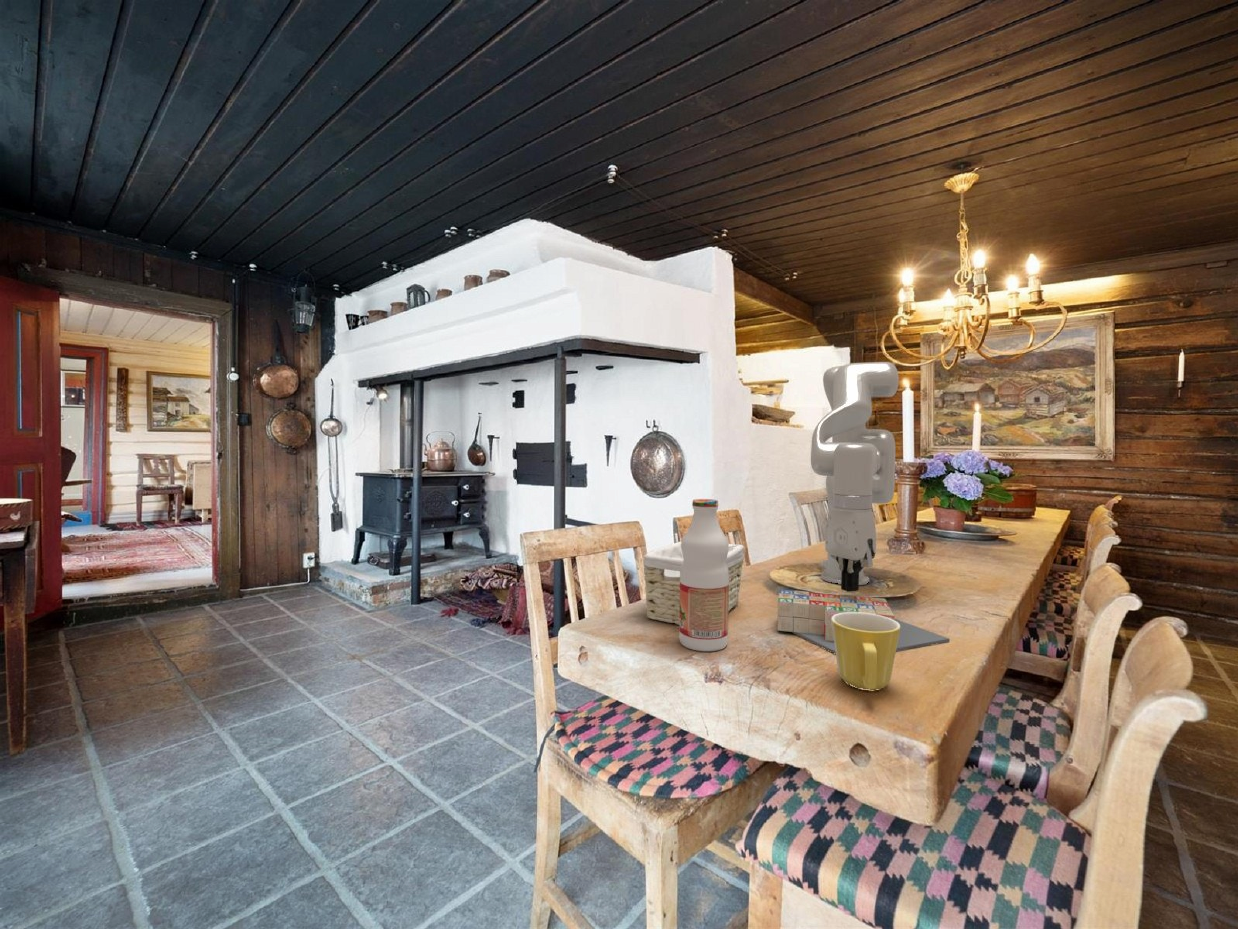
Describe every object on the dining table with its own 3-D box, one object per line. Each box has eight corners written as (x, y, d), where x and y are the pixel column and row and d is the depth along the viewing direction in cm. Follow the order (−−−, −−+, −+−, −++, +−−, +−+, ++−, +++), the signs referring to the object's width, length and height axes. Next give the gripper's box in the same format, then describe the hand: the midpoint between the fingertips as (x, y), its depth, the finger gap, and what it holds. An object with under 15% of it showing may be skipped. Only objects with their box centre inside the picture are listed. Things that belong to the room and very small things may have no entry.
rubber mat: (792, 633, 114) (792, 630, 114) (887, 618, 124) (887, 615, 124) (846, 660, 100) (847, 657, 100) (949, 641, 110) (949, 638, 110)
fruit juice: (708, 656, 101) (710, 504, 100) (669, 642, 108) (670, 499, 107) (737, 643, 108) (740, 500, 107) (699, 631, 115) (700, 496, 113)
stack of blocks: (778, 616, 123) (776, 635, 111) (779, 588, 122) (776, 604, 111) (885, 627, 116) (894, 648, 104) (886, 598, 116) (895, 616, 104)
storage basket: (684, 594, 142) (685, 537, 141) (746, 604, 134) (747, 543, 133) (639, 620, 122) (639, 554, 121) (709, 634, 113) (710, 563, 113)
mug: (834, 666, 98) (836, 607, 97) (899, 679, 93) (901, 617, 92) (821, 698, 86) (822, 631, 85) (895, 714, 81) (897, 643, 80)
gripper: (812, 500, 121) (810, 583, 122) (866, 508, 107) (863, 601, 108) (839, 498, 124) (837, 580, 125) (895, 506, 110) (892, 598, 111)
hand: (849, 590), depth 117 cm, fingers closed
